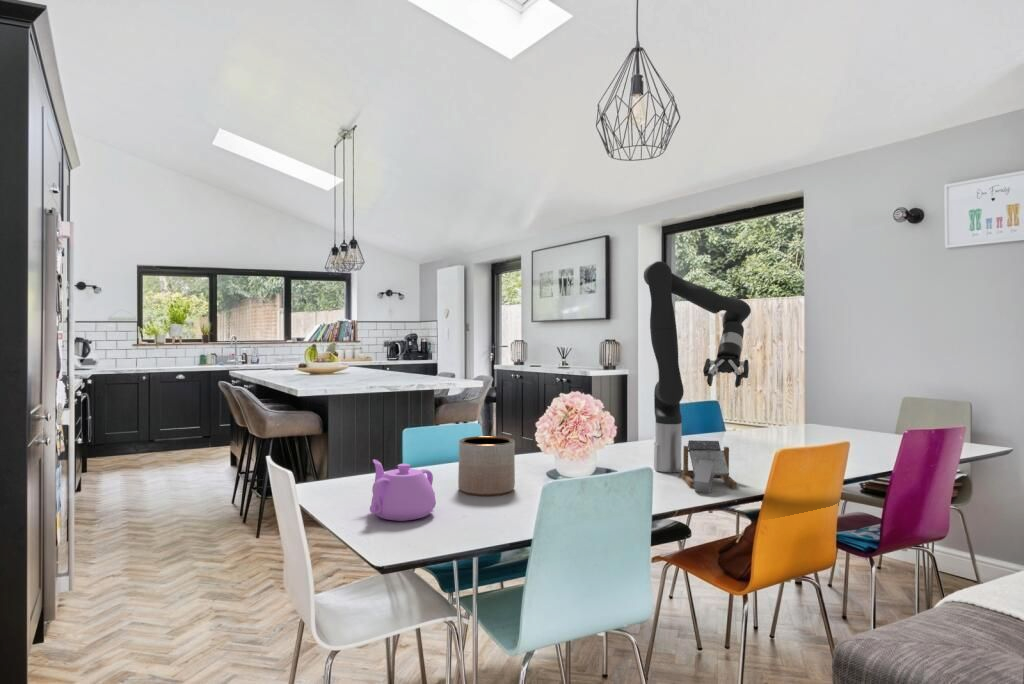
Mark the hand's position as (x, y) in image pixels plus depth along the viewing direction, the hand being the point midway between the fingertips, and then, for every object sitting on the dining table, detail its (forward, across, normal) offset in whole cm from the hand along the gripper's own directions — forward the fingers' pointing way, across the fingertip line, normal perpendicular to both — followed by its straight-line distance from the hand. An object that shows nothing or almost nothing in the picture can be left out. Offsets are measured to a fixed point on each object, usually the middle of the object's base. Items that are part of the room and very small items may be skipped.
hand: (723, 385), depth 218 cm
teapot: (+80, -69, -38) cm, 112 cm away
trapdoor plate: (+19, -5, +18) cm, 27 cm away
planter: (+56, -63, -12) cm, 85 cm away
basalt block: (+24, -3, +11) cm, 27 cm away
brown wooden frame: (+24, -5, +22) cm, 33 cm away
